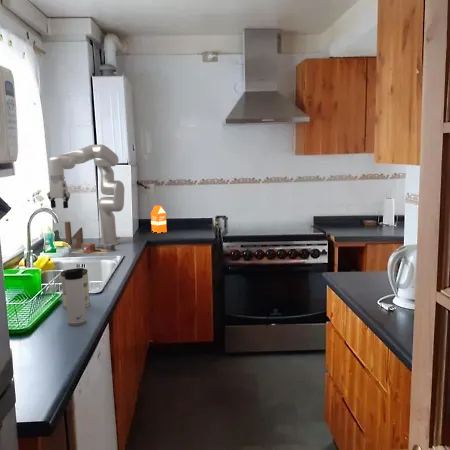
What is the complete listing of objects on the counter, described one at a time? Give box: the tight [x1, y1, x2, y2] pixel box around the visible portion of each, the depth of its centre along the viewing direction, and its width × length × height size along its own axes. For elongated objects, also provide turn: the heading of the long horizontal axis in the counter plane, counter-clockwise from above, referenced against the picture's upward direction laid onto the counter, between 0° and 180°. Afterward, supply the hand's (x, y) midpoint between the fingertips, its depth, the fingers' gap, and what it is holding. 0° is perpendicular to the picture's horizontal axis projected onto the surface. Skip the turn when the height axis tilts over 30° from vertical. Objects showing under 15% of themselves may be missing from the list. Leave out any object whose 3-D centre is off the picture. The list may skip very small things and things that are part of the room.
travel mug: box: [64, 267, 87, 327], centre depth 184 cm, size 6×7×20 cm
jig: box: [70, 242, 119, 256], centre depth 319 cm, size 18×23×5 cm
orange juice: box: [150, 205, 168, 234], centre depth 393 cm, size 8×9×20 cm
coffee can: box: [59, 268, 91, 310], centre depth 206 cm, size 10×10×14 cm
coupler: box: [83, 242, 96, 254], centre depth 314 cm, size 5×8×5 cm, turn 153°
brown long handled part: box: [64, 221, 84, 250], centre depth 330 cm, size 4×11×18 cm, turn 87°
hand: (59, 207), depth 304 cm, fingers open, 9 cm apart
